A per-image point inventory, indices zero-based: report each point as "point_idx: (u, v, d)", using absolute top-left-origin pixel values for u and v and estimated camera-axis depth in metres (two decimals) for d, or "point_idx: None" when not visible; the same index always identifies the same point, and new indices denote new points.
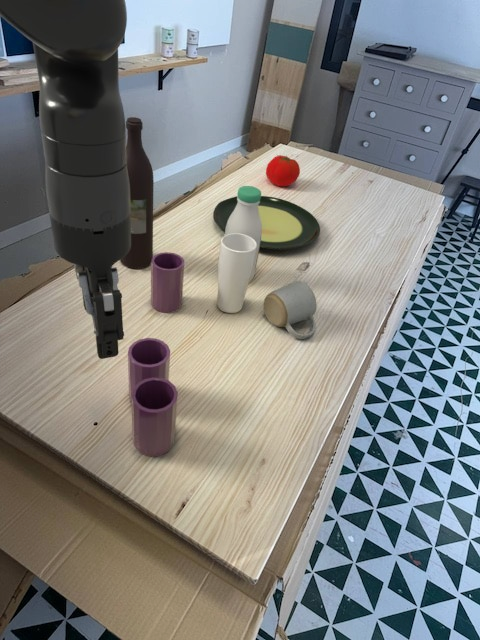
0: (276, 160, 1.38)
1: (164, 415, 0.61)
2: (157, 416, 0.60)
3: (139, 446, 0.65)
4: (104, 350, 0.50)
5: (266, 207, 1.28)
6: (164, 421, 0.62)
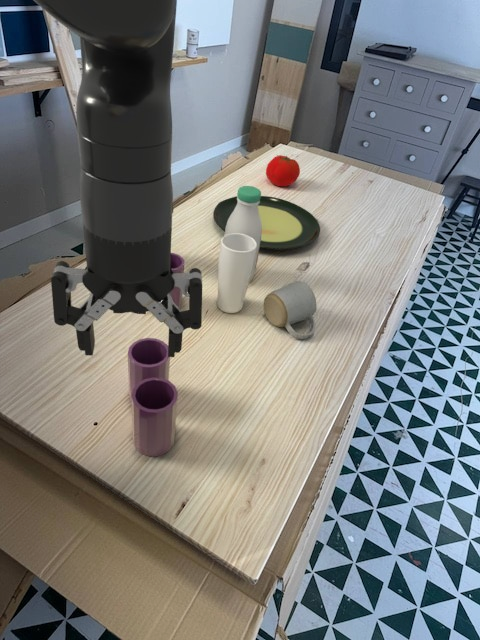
0: (276, 160, 1.38)
1: (164, 415, 0.61)
2: (157, 416, 0.60)
3: (139, 446, 0.65)
4: (181, 342, 0.50)
5: (266, 207, 1.28)
6: (164, 421, 0.62)
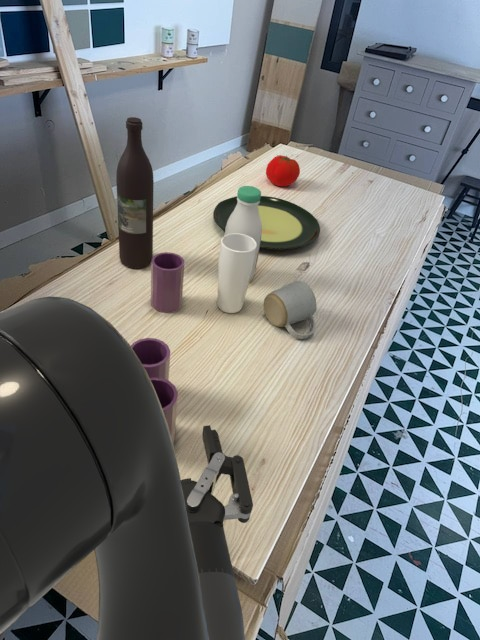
0: (276, 160, 1.38)
1: None
2: None
3: None
4: None
5: (266, 207, 1.28)
6: None
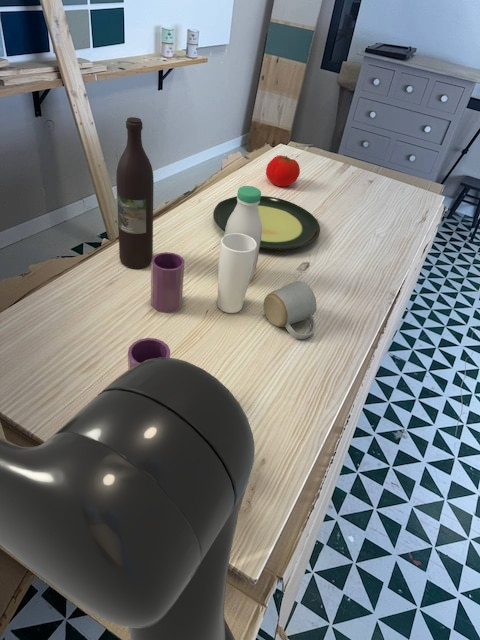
0: (276, 160, 1.38)
1: None
2: None
3: None
4: None
5: (266, 207, 1.28)
6: None
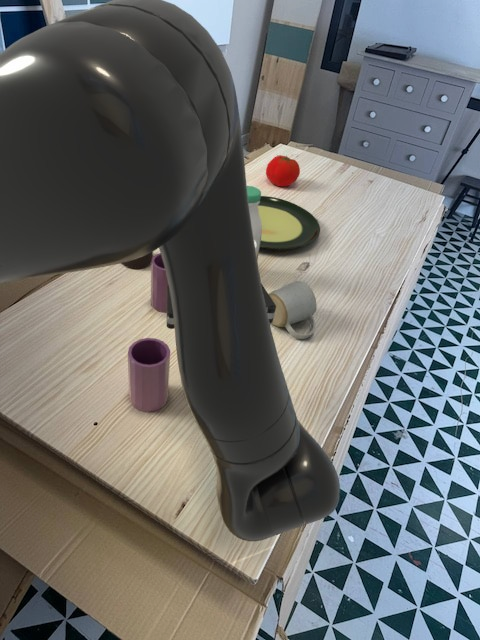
0: (276, 160, 1.38)
1: None
2: None
3: None
4: None
5: (266, 207, 1.28)
6: None
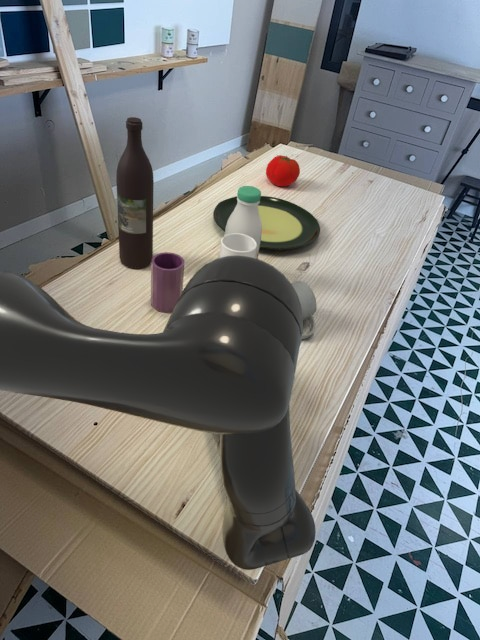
0: (276, 160, 1.38)
1: None
2: None
3: None
4: None
5: (266, 207, 1.28)
6: None
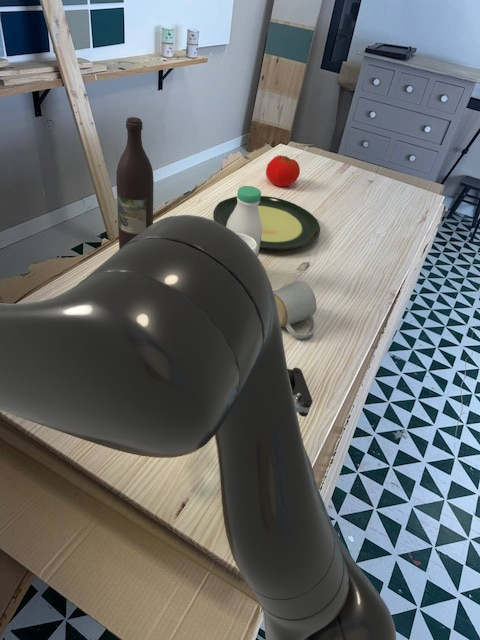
0: (276, 160, 1.38)
1: None
2: None
3: None
4: None
5: (266, 207, 1.28)
6: None
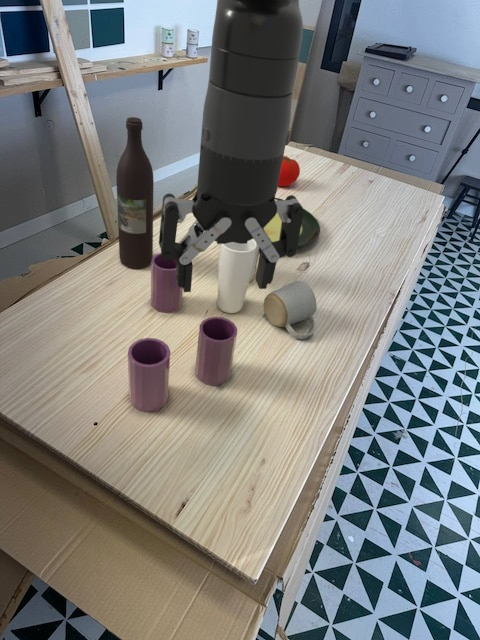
0: None
1: (227, 345, 0.72)
2: (221, 346, 0.72)
3: (202, 376, 0.77)
4: (176, 270, 0.49)
5: None
6: (226, 351, 0.73)
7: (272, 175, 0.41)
